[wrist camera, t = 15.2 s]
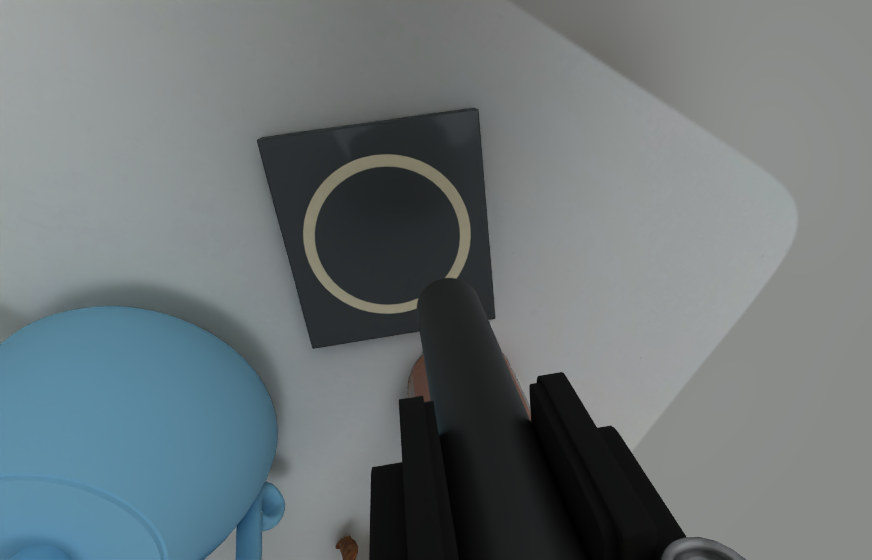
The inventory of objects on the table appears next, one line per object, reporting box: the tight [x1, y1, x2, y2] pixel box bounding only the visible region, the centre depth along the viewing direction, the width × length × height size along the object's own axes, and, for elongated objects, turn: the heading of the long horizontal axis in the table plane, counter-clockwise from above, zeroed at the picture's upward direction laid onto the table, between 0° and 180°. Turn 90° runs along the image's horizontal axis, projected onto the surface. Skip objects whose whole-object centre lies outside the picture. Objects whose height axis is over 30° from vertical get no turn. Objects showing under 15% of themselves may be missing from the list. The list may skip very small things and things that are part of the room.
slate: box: [257, 108, 495, 349], centre depth 26 cm, size 12×11×1 cm
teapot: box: [0, 306, 285, 560], centre depth 24 cm, size 20×20×13 cm
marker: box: [417, 278, 589, 560], centre depth 11 cm, size 2×2×12 cm
